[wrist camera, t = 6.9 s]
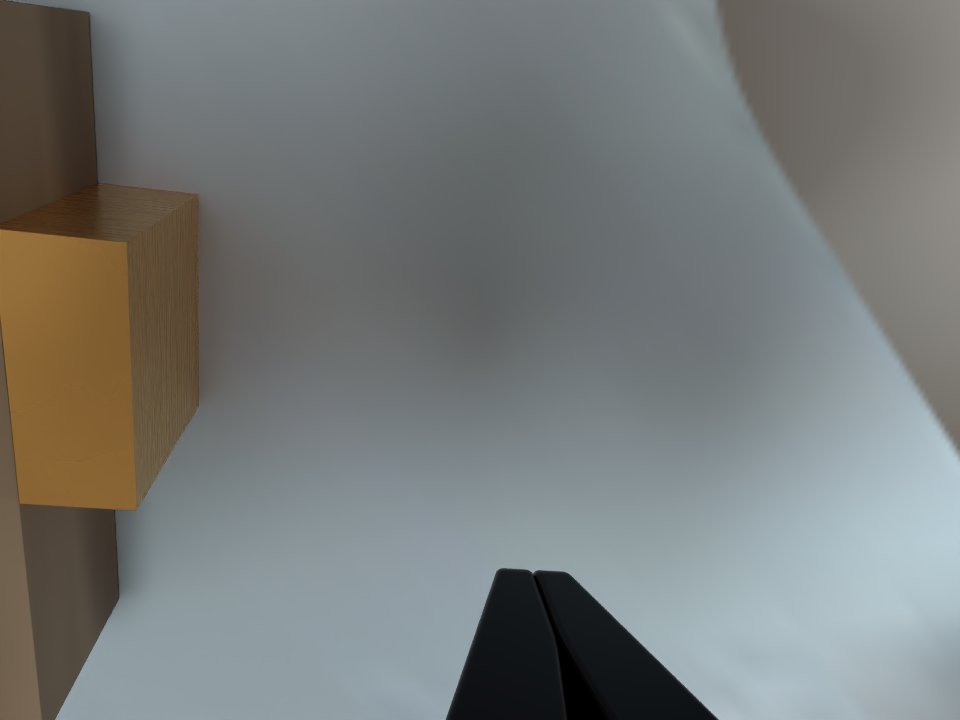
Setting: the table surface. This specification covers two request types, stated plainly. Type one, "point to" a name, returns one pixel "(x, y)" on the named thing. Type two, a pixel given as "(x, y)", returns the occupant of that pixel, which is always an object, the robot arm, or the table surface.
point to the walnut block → (3, 520)
